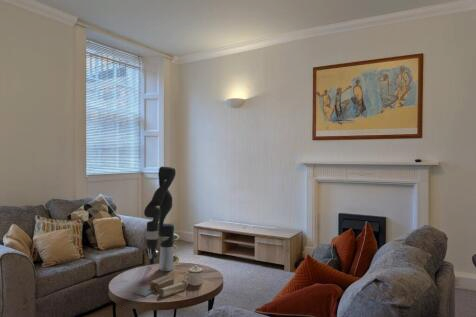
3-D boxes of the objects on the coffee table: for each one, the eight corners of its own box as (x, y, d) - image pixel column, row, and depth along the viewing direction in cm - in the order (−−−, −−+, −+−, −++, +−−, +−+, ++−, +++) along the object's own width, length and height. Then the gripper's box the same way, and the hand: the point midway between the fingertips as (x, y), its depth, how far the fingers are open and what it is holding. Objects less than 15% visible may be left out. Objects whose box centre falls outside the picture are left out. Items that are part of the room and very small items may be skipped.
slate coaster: (133, 293, 200) (133, 292, 200) (144, 288, 208) (144, 287, 208) (145, 296, 196) (145, 295, 196) (155, 291, 204) (155, 290, 204)
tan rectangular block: (150, 289, 208) (150, 281, 208) (165, 283, 217) (165, 275, 217) (158, 292, 203) (159, 284, 203) (173, 286, 213) (173, 278, 213)
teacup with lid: (201, 280, 224) (201, 262, 223) (203, 285, 215) (203, 267, 215) (183, 281, 221) (183, 263, 221) (184, 286, 212) (184, 268, 212)
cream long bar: (159, 296, 197) (159, 288, 197) (183, 287, 211) (183, 280, 211) (162, 297, 195) (162, 289, 195) (186, 288, 209) (186, 281, 209)
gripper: (141, 236, 219) (140, 263, 219) (153, 240, 211) (152, 267, 211) (151, 235, 225) (150, 260, 225) (163, 238, 216) (162, 265, 216)
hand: (151, 264), depth 218 cm, fingers closed
